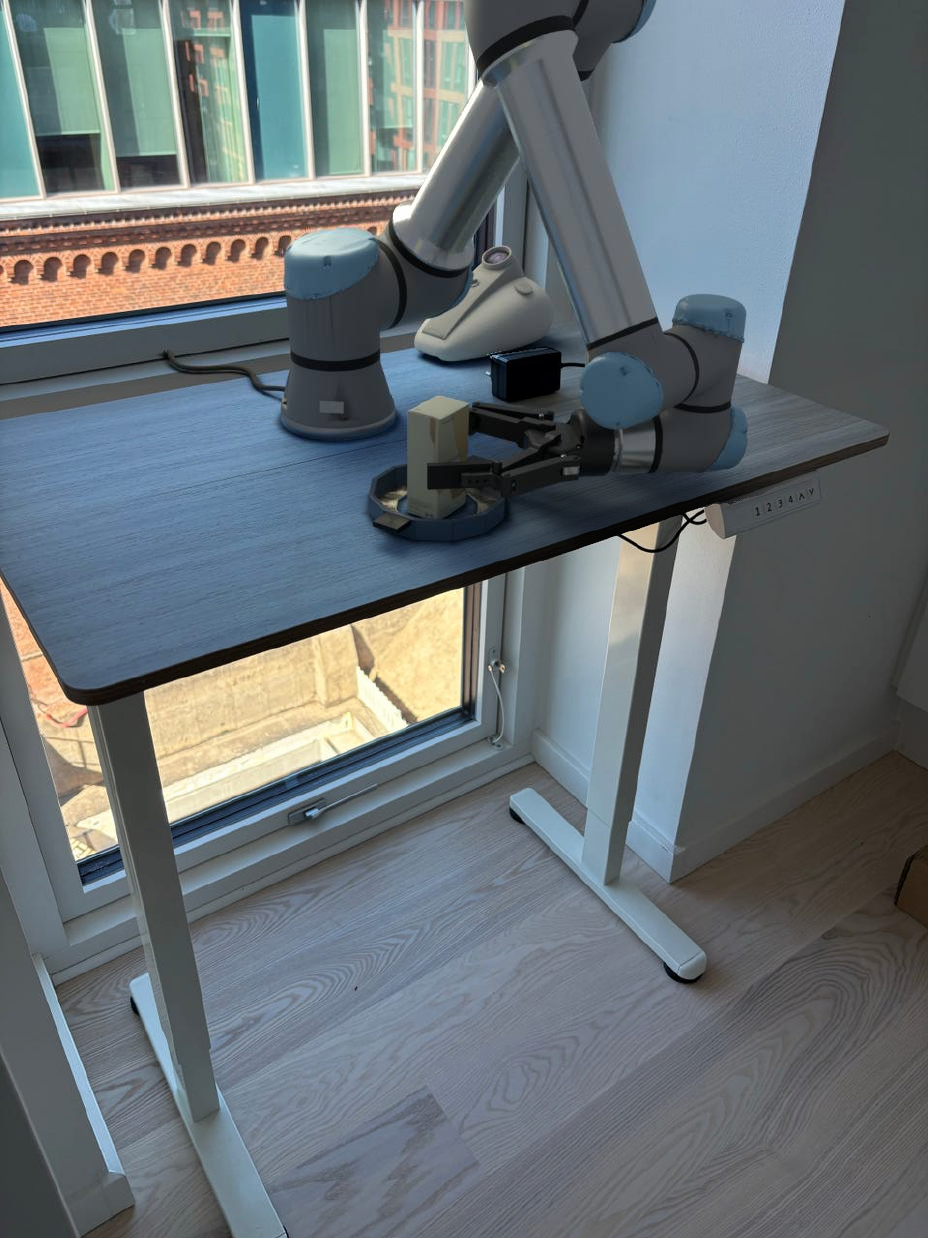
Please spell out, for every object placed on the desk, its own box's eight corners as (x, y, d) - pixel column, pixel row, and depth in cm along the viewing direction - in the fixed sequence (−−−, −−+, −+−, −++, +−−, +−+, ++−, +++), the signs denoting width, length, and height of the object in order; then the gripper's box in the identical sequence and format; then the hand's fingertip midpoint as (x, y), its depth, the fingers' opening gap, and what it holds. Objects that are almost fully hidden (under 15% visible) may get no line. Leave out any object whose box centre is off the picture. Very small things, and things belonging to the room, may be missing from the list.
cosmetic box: (437, 524, 107) (439, 420, 100) (405, 513, 109) (404, 410, 102) (468, 502, 112) (471, 401, 105) (437, 492, 114) (438, 392, 107)
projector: (410, 322, 166) (410, 232, 158) (541, 322, 168) (548, 234, 160) (415, 367, 148) (415, 268, 140) (563, 366, 150) (571, 269, 142)
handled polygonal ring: (328, 525, 106) (327, 505, 105) (430, 460, 121) (430, 442, 120) (445, 565, 100) (445, 545, 99) (538, 491, 114) (539, 473, 113)
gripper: (635, 524, 101) (433, 534, 98) (577, 429, 121) (408, 435, 118) (645, 458, 97) (434, 466, 94) (583, 370, 117) (408, 375, 114)
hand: (419, 449), depth 106 cm, fingers open, 13 cm apart
